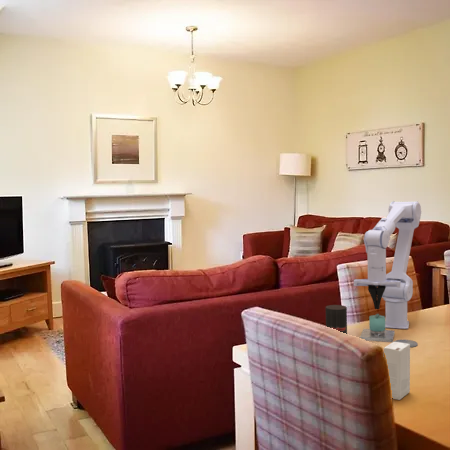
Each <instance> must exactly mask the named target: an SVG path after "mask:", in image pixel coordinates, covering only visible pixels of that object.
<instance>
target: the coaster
mask: <svg viewBox="0 0 450 450" xmlns="http://www.w3.org/2000/svg"><path fill="white" fill-rule="evenodd" d="M393 342H401V343H407V344H410V348H416V347H418V344H419V343H418V342H417V341H415V340H411V339H395V340H393Z"/></svg>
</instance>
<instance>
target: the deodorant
mask: <svg viewBox="0 0 450 450" xmlns="http://www.w3.org/2000/svg"><path fill="white" fill-rule="evenodd" d="M347 307H348V306H346V305H341V304H330V305H326V306H325V327H326V326H327V327H330V328H333V329H336V330H338V331H340V332H343V333H346V334H347V335H348V313H347V312H348V308H347Z"/></svg>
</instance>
